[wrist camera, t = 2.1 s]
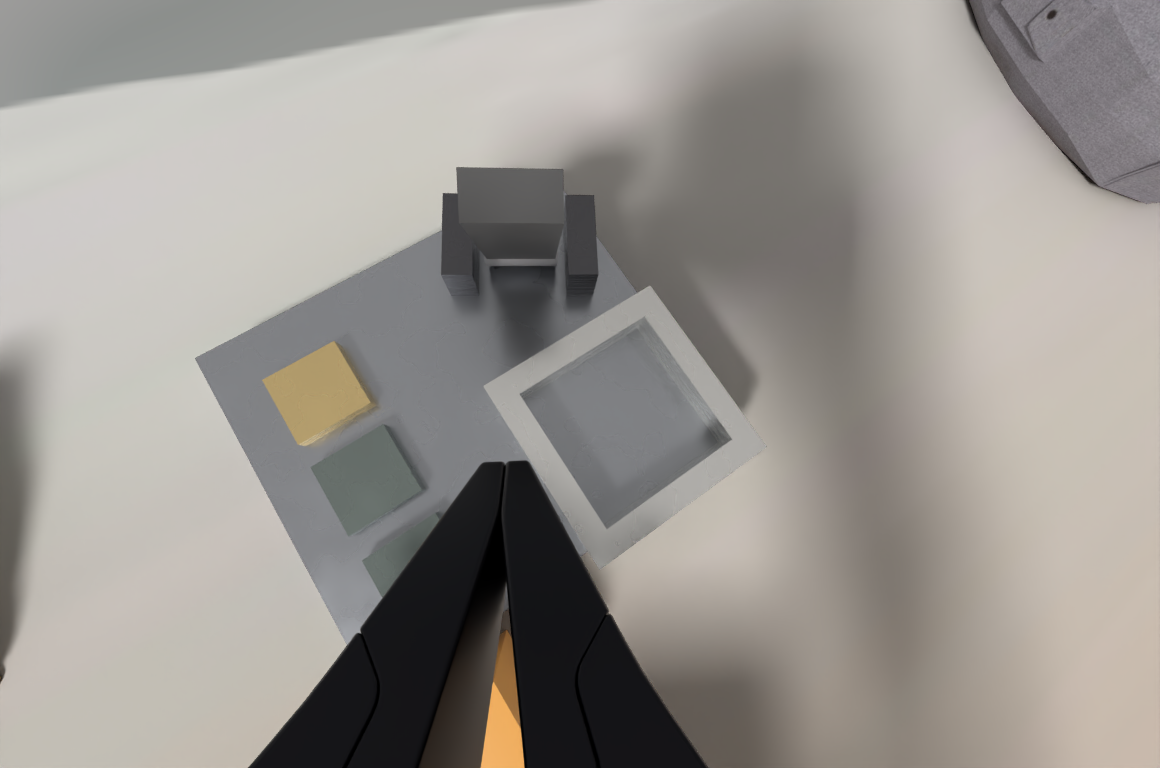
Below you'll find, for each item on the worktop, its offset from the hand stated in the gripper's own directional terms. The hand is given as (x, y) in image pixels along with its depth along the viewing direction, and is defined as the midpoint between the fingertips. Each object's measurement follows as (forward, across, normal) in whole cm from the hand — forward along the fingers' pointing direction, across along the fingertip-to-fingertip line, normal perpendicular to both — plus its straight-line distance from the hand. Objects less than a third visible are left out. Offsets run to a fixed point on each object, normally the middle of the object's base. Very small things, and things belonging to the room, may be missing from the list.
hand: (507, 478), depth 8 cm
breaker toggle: (+13, 0, -1) cm, 13 cm away
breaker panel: (+11, +2, +6) cm, 13 cm away
